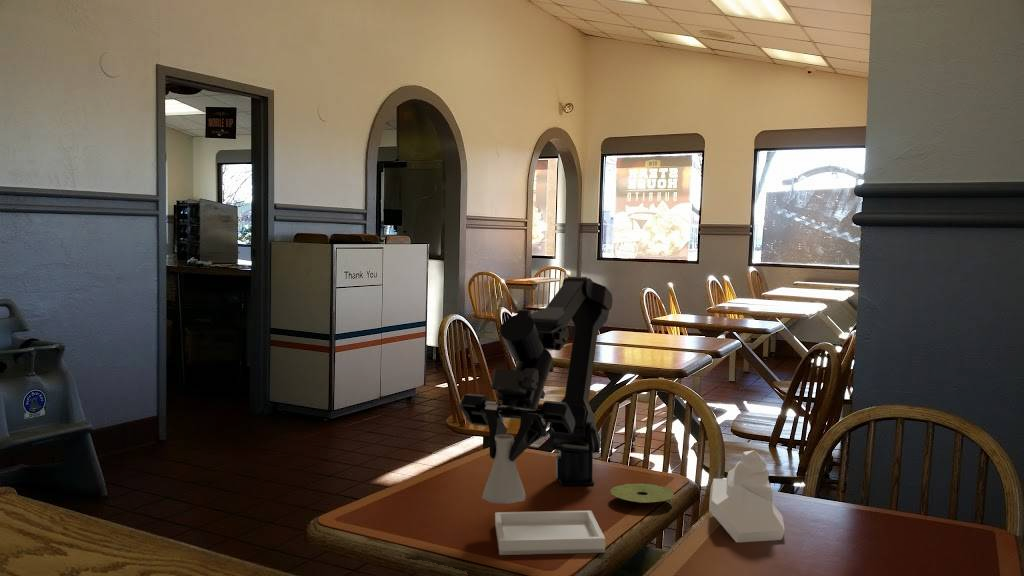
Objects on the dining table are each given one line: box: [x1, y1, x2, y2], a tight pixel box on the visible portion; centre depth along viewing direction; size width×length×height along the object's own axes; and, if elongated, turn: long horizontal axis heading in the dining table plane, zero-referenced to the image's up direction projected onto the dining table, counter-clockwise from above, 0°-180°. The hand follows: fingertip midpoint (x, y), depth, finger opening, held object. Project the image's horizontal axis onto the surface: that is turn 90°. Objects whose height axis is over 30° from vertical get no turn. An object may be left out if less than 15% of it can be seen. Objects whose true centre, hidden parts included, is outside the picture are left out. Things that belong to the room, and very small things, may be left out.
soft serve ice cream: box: [708, 449, 785, 543], centre depth 136 cm, size 12×15×14 cm
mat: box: [610, 483, 675, 505], centre depth 150 cm, size 11×11×2 cm
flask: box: [481, 433, 526, 504], centre depth 133 cm, size 7×7×10 cm
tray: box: [494, 510, 606, 556], centre depth 132 cm, size 16×13×2 cm
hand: (501, 458), depth 131 cm, fingers closed on flask, 3 cm apart
